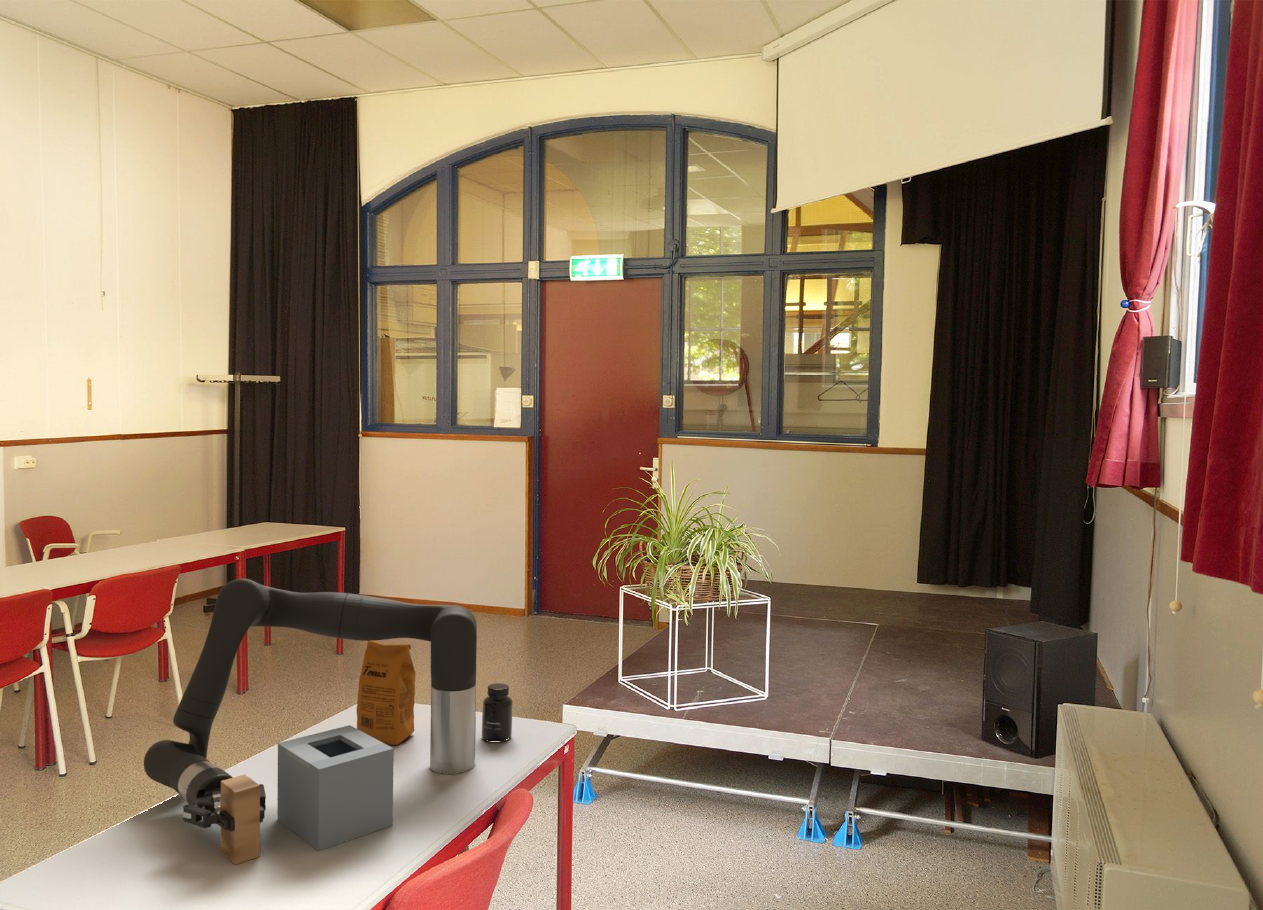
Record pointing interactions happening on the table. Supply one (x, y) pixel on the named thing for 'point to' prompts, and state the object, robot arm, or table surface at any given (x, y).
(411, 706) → the coffee package
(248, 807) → the wooden block
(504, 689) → the supplement bottle
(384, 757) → the grey box with opening
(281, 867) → the table surface
